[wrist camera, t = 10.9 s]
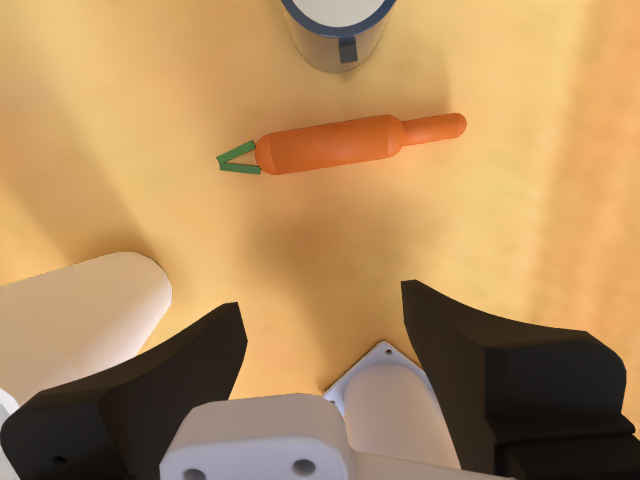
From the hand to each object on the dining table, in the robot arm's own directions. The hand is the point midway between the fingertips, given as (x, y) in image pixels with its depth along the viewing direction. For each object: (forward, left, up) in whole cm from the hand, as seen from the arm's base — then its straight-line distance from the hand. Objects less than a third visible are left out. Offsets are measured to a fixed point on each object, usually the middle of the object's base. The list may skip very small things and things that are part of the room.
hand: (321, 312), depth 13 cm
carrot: (+3, -7, -10) cm, 12 cm away
